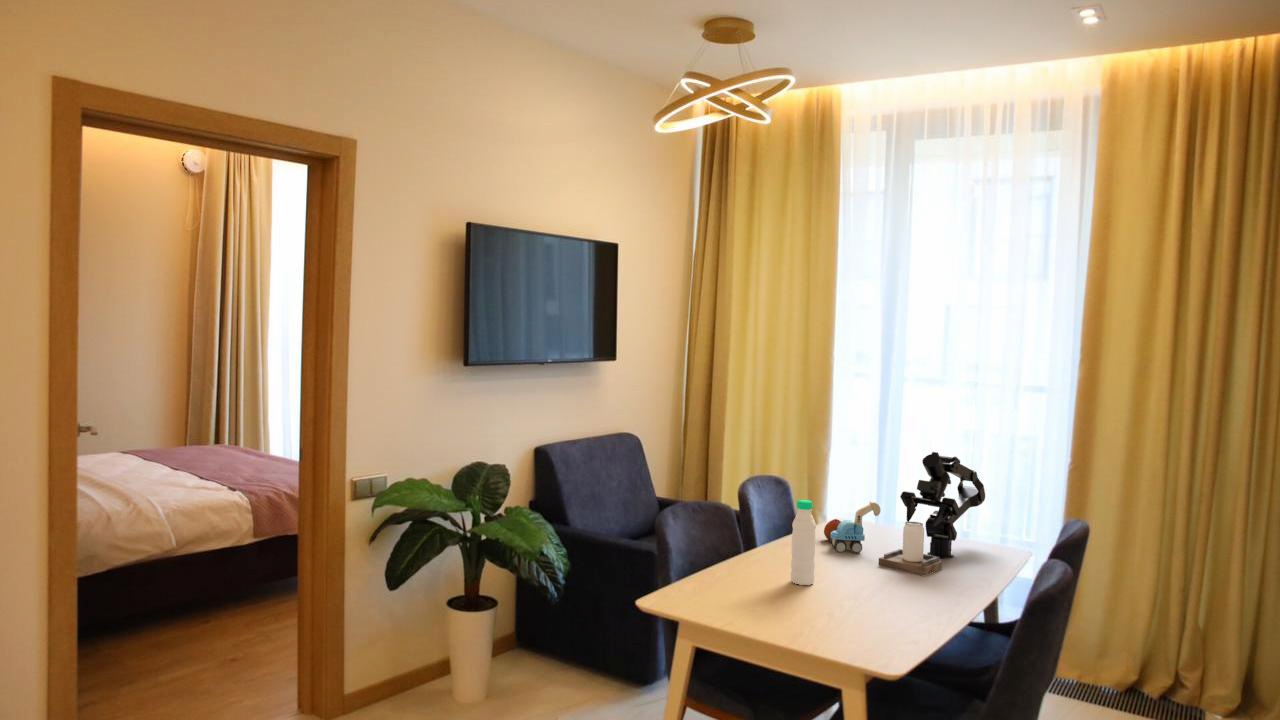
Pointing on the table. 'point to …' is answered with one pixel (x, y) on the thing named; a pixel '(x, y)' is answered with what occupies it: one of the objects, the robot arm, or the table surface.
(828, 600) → the table surface
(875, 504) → the toy excavator
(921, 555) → the can
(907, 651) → the table surface
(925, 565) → the dock
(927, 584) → the table surface
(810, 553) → the water bottle
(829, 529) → the fruit
